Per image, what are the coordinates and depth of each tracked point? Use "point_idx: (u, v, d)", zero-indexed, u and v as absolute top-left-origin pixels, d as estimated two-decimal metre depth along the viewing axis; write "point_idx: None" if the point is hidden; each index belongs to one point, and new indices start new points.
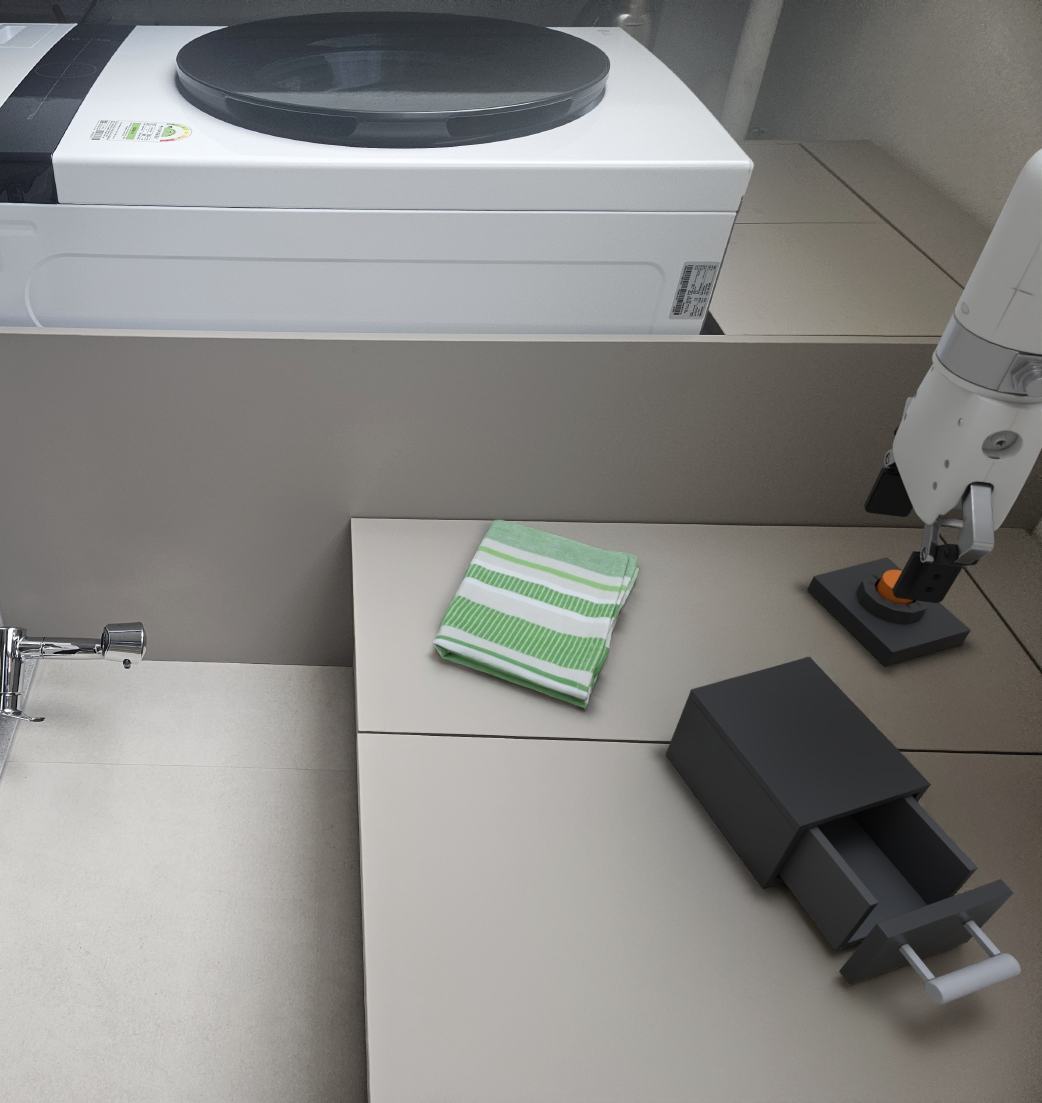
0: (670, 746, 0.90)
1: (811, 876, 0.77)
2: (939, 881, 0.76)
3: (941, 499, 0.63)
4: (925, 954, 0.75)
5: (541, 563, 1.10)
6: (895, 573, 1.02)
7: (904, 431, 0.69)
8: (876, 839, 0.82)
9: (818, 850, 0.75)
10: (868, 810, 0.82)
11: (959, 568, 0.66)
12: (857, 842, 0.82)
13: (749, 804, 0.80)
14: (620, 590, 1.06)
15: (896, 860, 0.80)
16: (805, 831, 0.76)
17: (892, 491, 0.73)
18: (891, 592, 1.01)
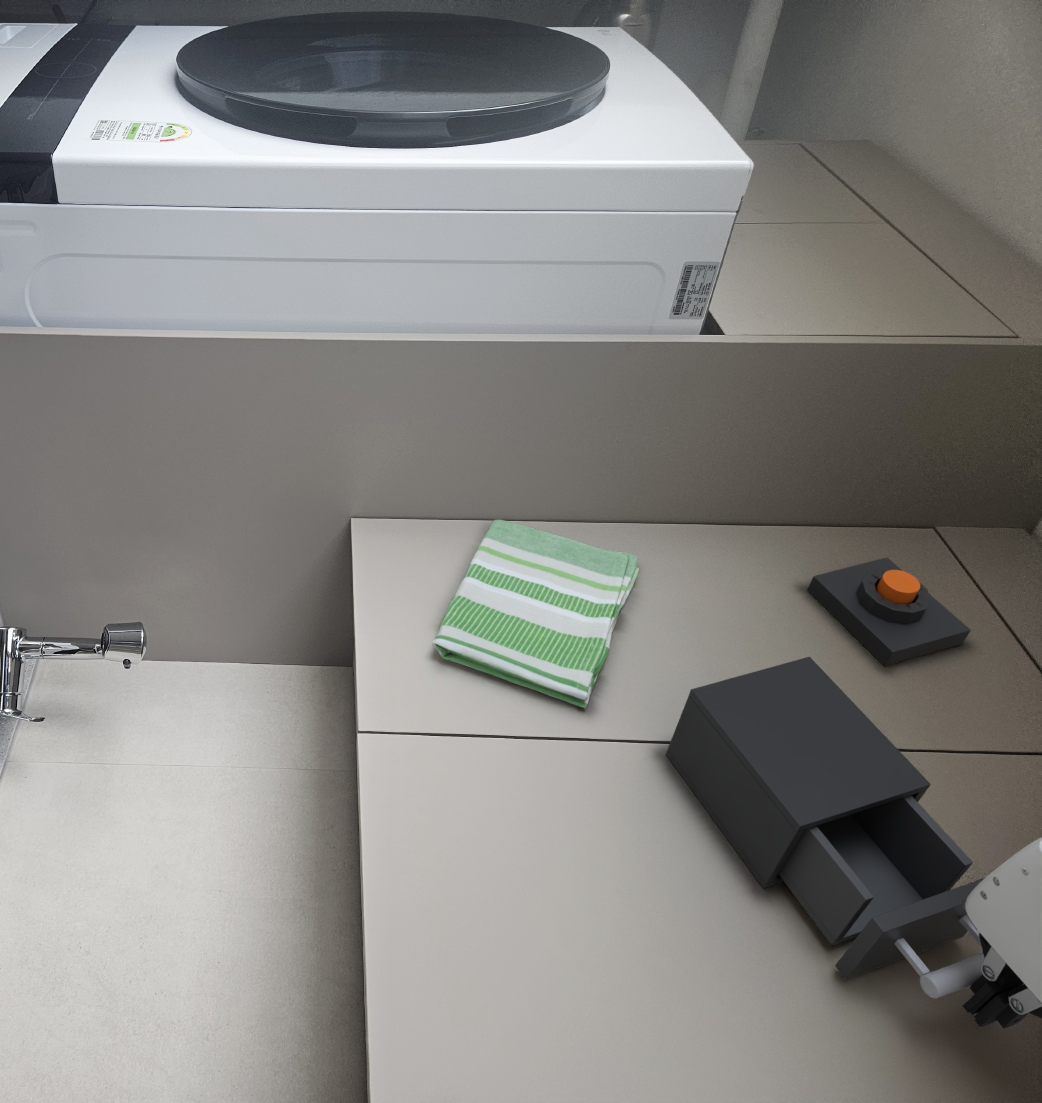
0: (670, 746, 0.90)
1: (807, 871, 0.77)
2: (935, 876, 0.76)
3: None
4: (921, 949, 0.75)
5: (541, 563, 1.10)
6: (895, 573, 1.02)
7: (991, 913, 0.64)
8: (872, 835, 0.82)
9: (814, 845, 0.76)
10: None
11: None
12: (854, 837, 0.82)
13: (749, 804, 0.80)
14: (620, 590, 1.06)
15: (892, 855, 0.80)
16: None
17: None
18: (891, 592, 1.01)
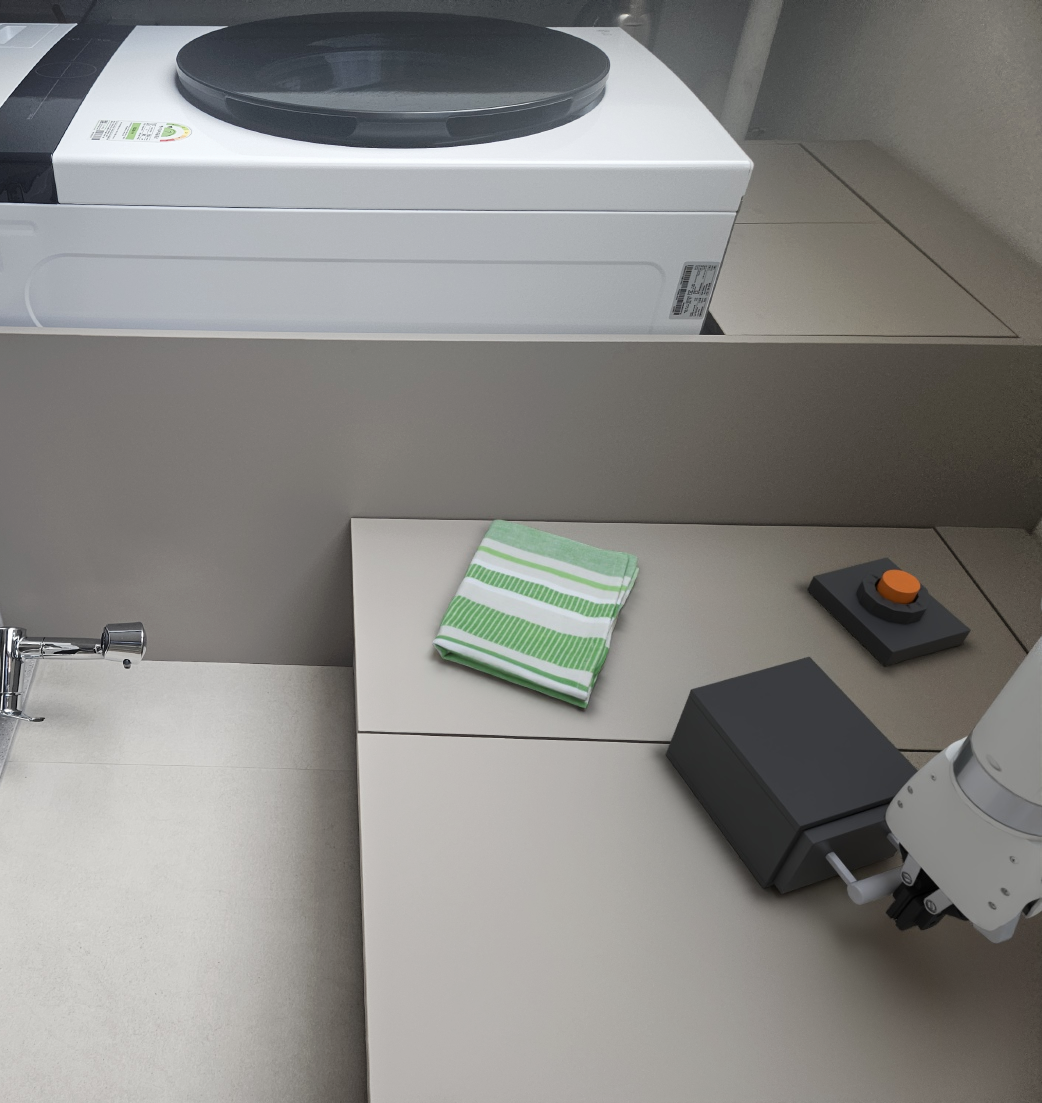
0: (670, 746, 0.90)
1: None
2: None
3: (1002, 917, 0.64)
4: (853, 866, 0.81)
5: (541, 563, 1.10)
6: (895, 573, 1.02)
7: (906, 820, 0.69)
8: None
9: None
10: None
11: None
12: None
13: (749, 804, 0.80)
14: (620, 590, 1.06)
15: None
16: None
17: None
18: (891, 592, 1.01)
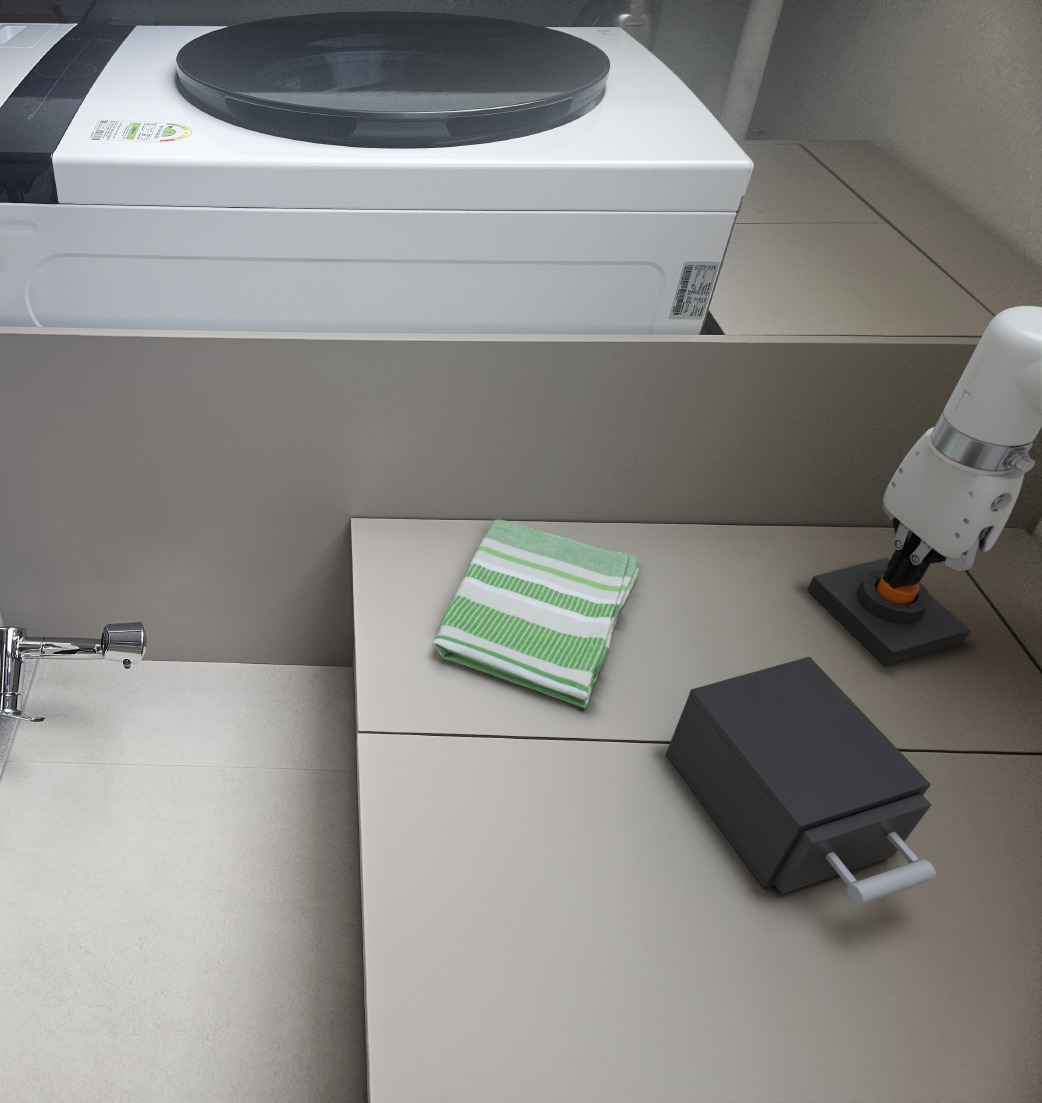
0: (670, 746, 0.90)
1: None
2: None
3: (964, 543, 0.91)
4: (853, 866, 0.81)
5: (541, 563, 1.10)
6: None
7: (898, 495, 0.96)
8: None
9: None
10: None
11: None
12: None
13: (749, 804, 0.80)
14: (620, 590, 1.06)
15: None
16: None
17: None
18: (890, 593, 1.01)
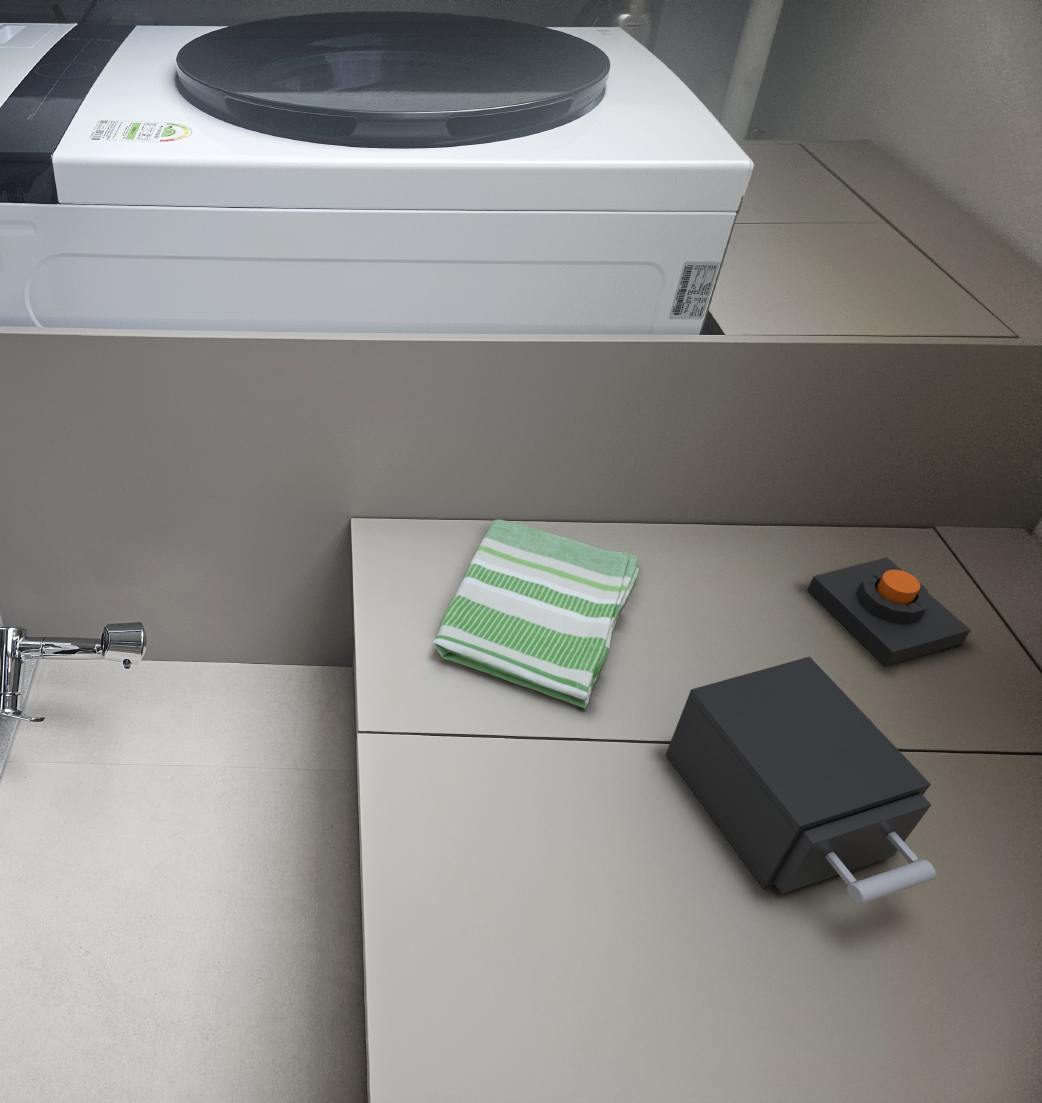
0: (670, 746, 0.90)
1: None
2: None
3: None
4: (853, 866, 0.81)
5: (541, 563, 1.10)
6: (895, 573, 1.02)
7: None
8: None
9: None
10: None
11: None
12: None
13: (749, 804, 0.80)
14: (620, 590, 1.06)
15: None
16: None
17: None
18: (891, 592, 1.01)
